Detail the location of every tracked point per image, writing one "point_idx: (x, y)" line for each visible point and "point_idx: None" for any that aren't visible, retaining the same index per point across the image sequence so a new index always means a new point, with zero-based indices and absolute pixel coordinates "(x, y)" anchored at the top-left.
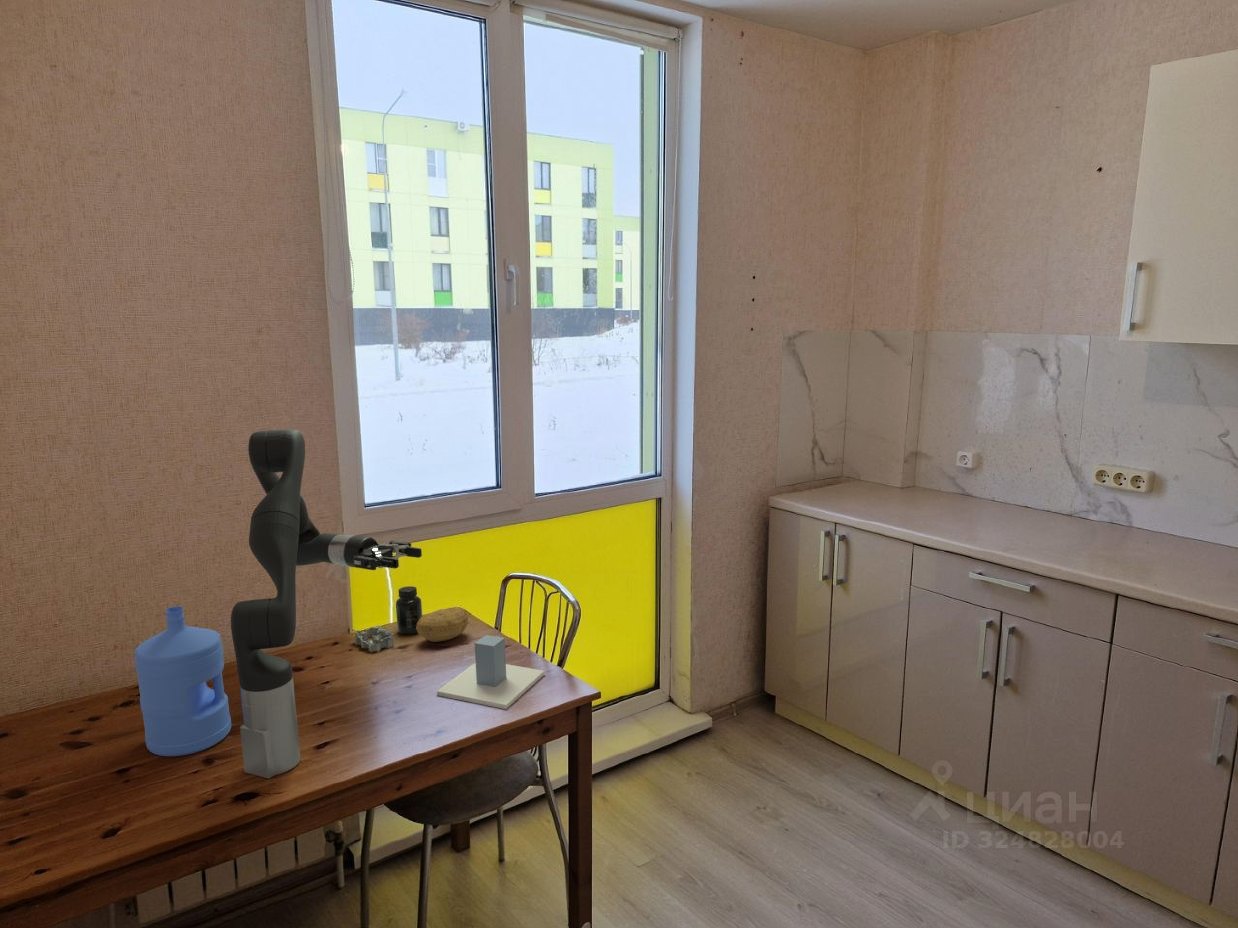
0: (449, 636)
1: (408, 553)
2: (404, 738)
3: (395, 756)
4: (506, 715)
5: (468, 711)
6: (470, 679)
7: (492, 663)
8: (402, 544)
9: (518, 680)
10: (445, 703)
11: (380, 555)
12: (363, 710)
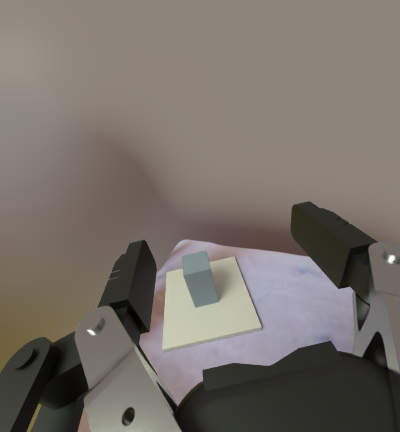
0: None
1: (144, 310)
2: None
3: None
4: (241, 253)
5: (259, 277)
6: (214, 315)
7: (210, 267)
8: (21, 424)
9: None
10: (266, 306)
11: (384, 283)
12: None
